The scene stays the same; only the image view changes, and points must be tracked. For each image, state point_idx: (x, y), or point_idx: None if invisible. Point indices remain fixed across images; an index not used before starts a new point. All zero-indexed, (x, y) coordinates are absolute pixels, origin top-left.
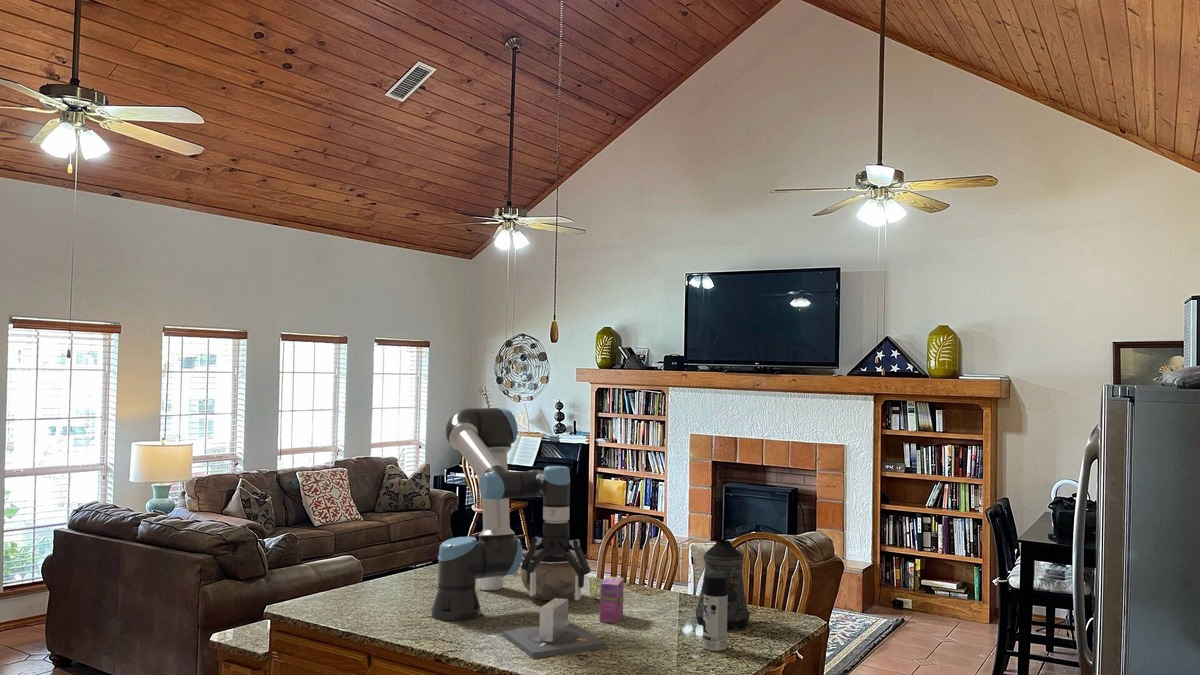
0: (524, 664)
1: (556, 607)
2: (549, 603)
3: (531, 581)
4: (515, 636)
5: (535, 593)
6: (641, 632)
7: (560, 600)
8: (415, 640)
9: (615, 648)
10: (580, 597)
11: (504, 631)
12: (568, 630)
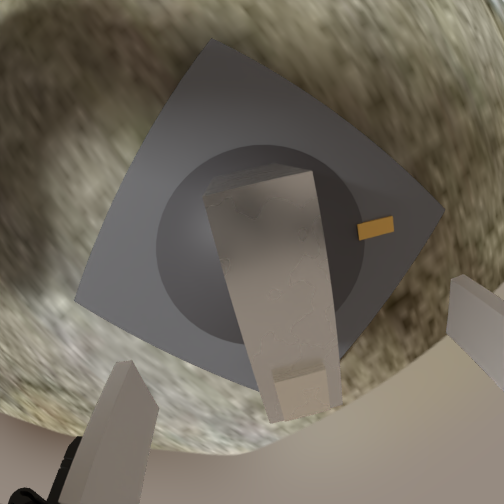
0: (300, 424)
1: (340, 373)
2: (261, 343)
3: (135, 486)
4: (146, 328)
5: (133, 369)
6: (430, 5)
7: (280, 235)
8: (11, 402)
9: (453, 190)
10: (466, 279)
11: (79, 301)
12: (264, 140)
